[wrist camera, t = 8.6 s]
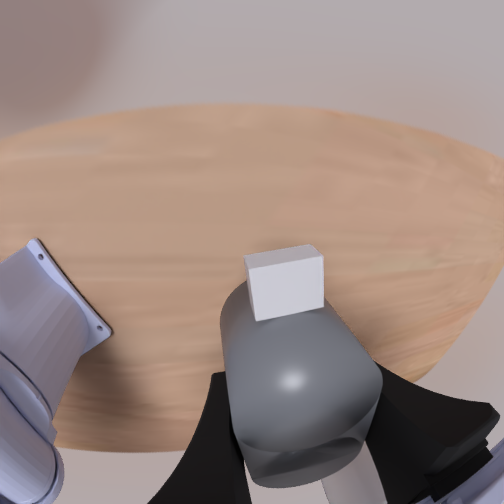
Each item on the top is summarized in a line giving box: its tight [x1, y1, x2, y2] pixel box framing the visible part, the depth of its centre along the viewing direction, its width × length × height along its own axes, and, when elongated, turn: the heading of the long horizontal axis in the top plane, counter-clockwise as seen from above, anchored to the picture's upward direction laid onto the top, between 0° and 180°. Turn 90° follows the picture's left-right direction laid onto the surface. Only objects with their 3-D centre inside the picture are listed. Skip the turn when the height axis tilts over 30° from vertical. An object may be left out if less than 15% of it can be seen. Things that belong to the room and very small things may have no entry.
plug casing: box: [220, 244, 383, 488], centre depth 9 cm, size 10×4×5 cm, turn 7°
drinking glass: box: [321, 441, 387, 504], centre depth 17 cm, size 7×7×15 cm
